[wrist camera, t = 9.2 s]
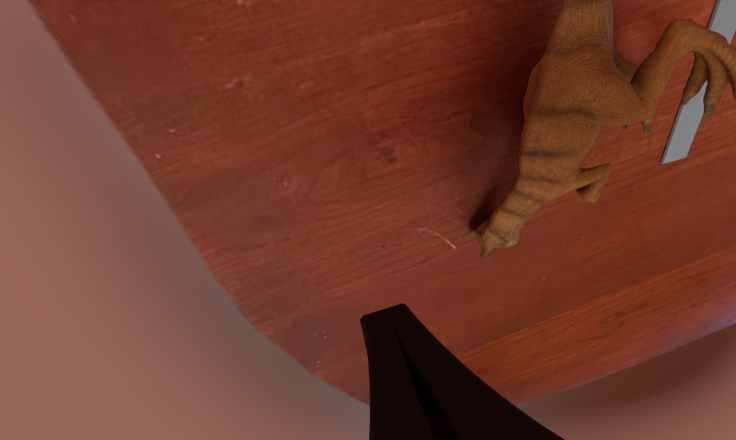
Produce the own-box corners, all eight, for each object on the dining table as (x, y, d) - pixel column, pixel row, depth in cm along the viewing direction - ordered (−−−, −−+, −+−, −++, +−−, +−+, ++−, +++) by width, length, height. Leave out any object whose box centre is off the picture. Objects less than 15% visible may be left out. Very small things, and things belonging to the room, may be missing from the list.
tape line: (660, 162, 26) (662, 164, 26) (791, -214, 16) (797, -216, 16) (683, 156, 27) (686, 157, 26) (826, -217, 17) (832, -219, 16)
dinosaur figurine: (579, 220, 27) (425, 253, 25) (721, -253, 15) (444, -272, 13) (664, 280, 21) (475, 330, 19) (1001, -394, 9) (596, -473, 7)
